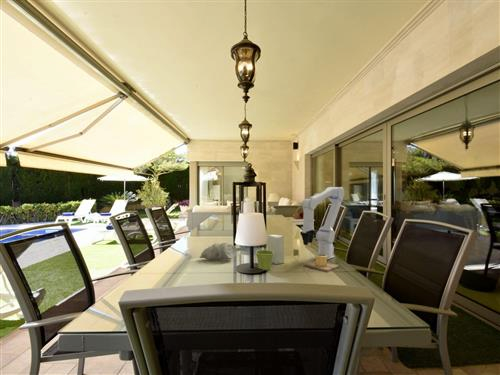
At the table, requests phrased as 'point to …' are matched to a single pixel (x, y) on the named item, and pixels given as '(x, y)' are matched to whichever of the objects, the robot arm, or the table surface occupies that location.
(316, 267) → the post board
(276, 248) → the skincare box
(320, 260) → the cap
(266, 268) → the plant pot
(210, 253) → the seashell
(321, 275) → the table surface
